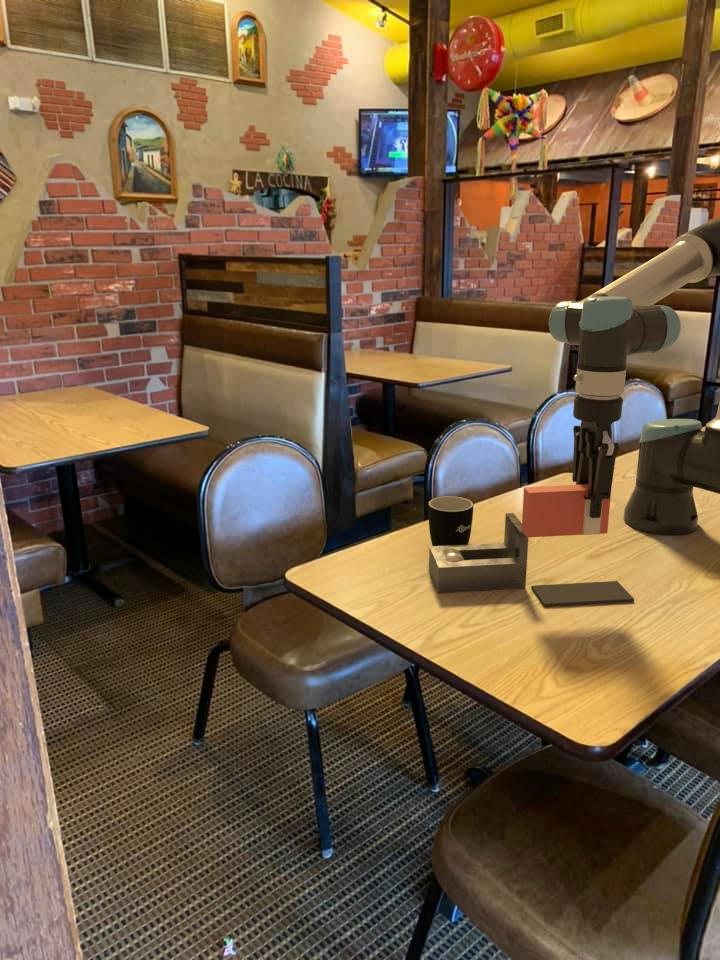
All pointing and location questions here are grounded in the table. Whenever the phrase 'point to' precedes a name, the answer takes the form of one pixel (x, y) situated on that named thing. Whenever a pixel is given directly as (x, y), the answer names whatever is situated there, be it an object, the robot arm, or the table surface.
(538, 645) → the table surface
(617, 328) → the robot arm
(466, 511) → the mug
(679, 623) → the table surface
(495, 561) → the frame
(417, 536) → the table surface
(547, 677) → the table surface
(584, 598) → the pad
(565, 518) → the orange block
